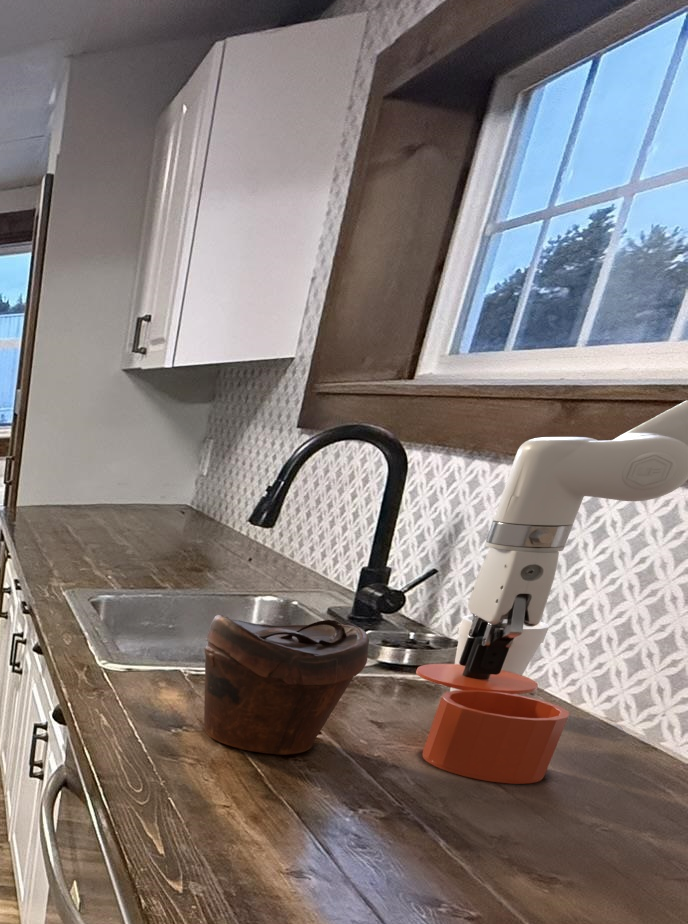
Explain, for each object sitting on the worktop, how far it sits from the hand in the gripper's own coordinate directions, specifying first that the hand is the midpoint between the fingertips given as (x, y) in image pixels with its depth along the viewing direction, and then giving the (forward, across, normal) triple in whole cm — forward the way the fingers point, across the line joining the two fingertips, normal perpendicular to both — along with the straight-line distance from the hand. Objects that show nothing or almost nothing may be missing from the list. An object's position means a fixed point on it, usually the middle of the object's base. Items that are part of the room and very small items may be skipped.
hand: (478, 668), depth 116 cm
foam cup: (+9, +14, -6) cm, 18 cm away
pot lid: (+2, 0, 0) cm, 2 cm away
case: (+9, -14, +26) cm, 31 cm away
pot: (+9, -15, +2) cm, 18 cm away
